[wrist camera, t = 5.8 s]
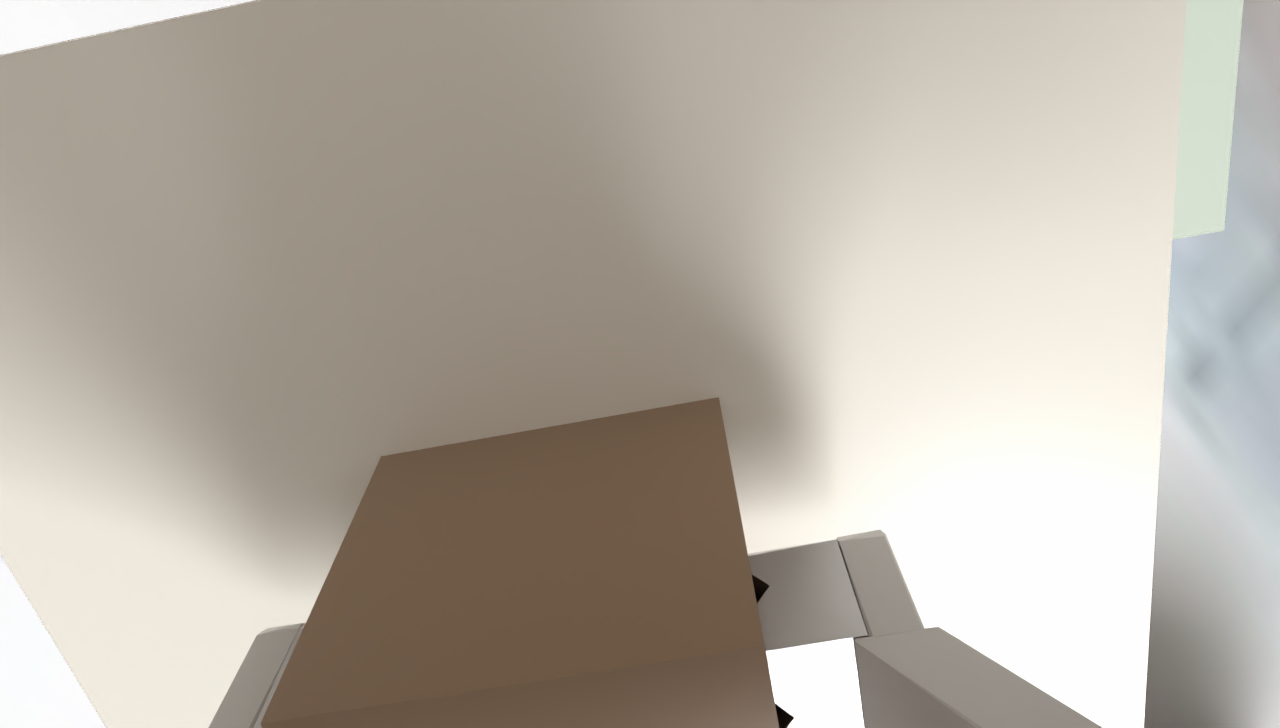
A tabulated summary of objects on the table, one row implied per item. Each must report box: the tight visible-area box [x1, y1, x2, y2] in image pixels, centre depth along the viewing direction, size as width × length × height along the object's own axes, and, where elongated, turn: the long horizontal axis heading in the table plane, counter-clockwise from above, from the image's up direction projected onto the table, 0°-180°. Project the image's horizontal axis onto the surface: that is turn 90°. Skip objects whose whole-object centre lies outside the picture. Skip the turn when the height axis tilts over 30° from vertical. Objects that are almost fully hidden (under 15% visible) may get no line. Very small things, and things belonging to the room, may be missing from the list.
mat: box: [1172, 0, 1243, 240], centre depth 35 cm, size 16×18×1 cm
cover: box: [0, 0, 1186, 728], centre depth 10 cm, size 14×14×5 cm
